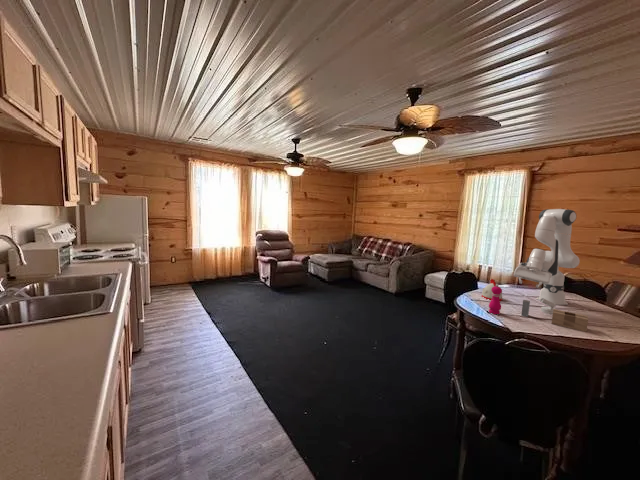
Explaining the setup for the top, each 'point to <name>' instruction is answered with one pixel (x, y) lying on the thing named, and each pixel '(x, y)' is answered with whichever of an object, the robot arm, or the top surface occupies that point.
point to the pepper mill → (495, 300)
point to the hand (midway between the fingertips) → (528, 285)
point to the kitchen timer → (489, 291)
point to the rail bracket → (525, 308)
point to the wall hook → (547, 309)
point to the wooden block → (570, 320)
